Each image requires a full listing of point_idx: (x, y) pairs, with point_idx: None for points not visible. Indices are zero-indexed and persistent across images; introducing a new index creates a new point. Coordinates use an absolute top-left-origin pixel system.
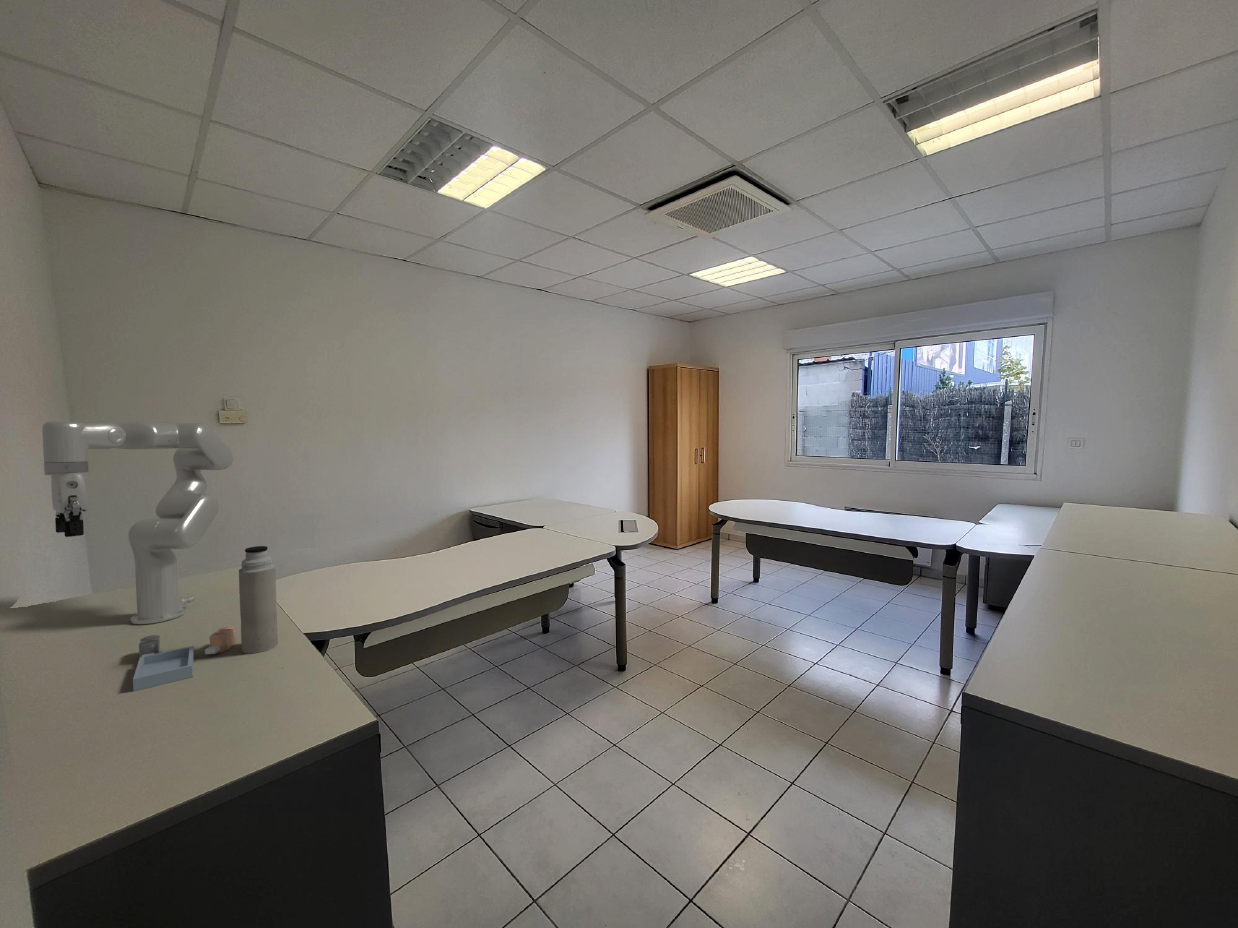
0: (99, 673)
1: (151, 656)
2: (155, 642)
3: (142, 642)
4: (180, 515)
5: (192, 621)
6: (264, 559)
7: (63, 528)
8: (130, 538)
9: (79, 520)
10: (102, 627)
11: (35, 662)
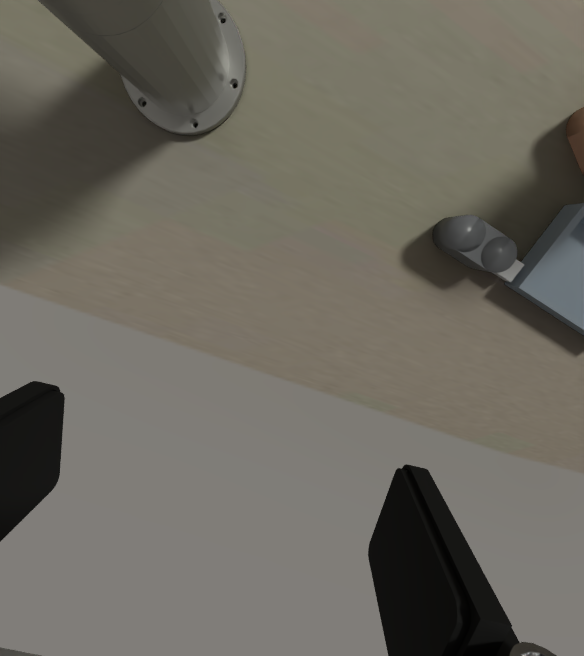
0: (448, 325)
1: (535, 274)
2: (512, 246)
3: (479, 258)
4: None
5: (320, 49)
6: None
7: (34, 469)
8: None
9: (496, 650)
10: (140, 181)
11: (262, 341)
